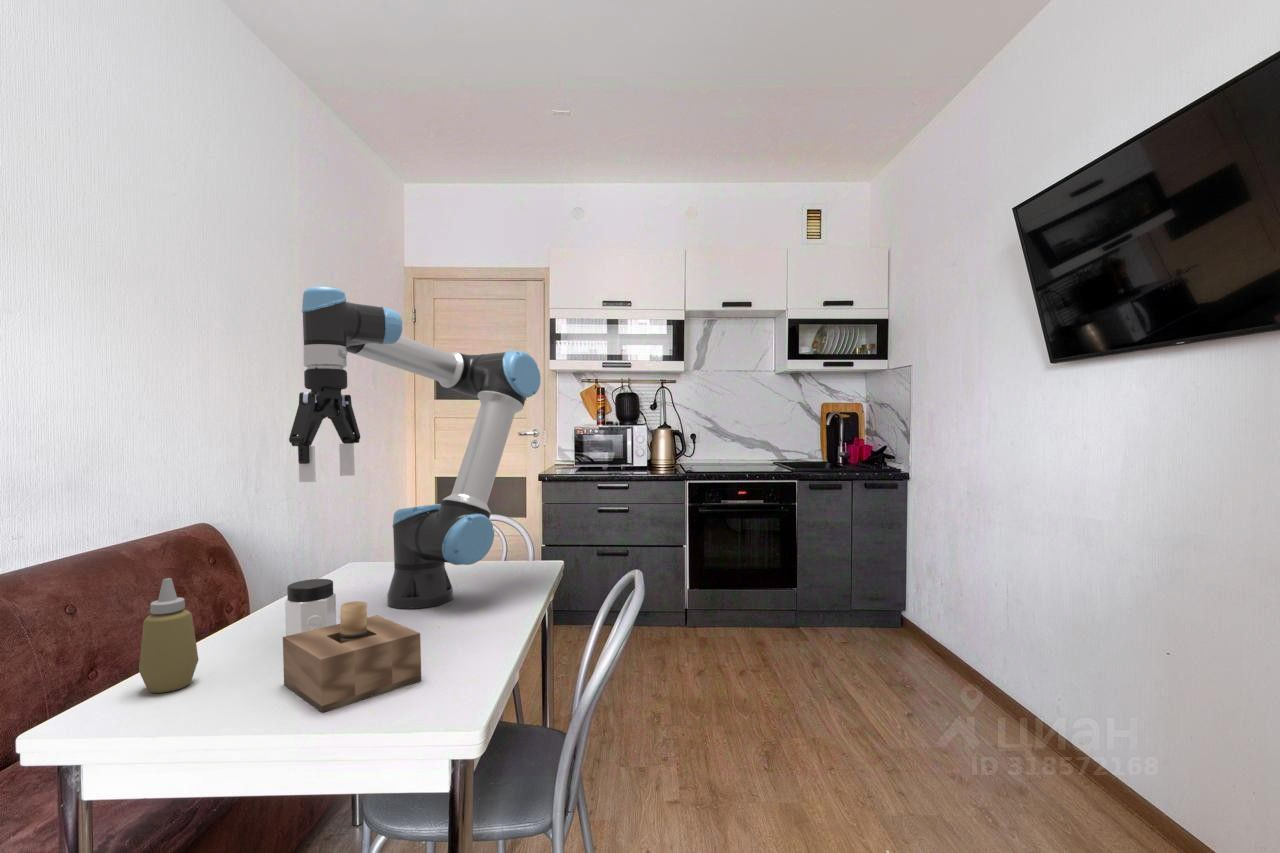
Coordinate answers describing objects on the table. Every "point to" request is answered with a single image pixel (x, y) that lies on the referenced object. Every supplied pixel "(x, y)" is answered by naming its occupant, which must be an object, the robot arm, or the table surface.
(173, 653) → the squeeze bottle
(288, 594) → the jar
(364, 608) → the oak peg
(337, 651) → the walnut socket block
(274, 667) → the table surface
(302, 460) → the robot arm
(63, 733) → the table surface
